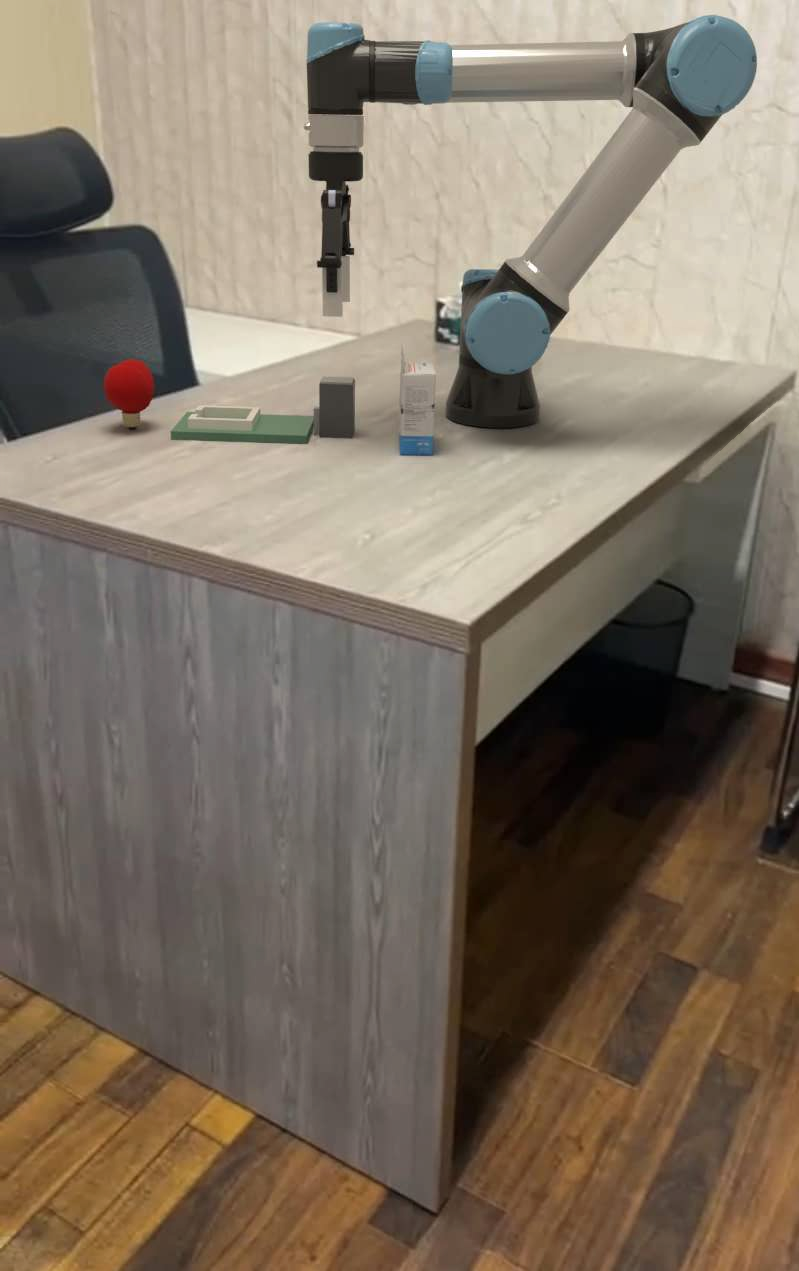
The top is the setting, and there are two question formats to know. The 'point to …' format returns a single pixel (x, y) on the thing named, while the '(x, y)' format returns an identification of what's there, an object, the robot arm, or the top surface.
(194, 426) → the board
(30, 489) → the top surface
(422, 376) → the ink box
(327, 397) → the plug
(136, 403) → the light bulb
